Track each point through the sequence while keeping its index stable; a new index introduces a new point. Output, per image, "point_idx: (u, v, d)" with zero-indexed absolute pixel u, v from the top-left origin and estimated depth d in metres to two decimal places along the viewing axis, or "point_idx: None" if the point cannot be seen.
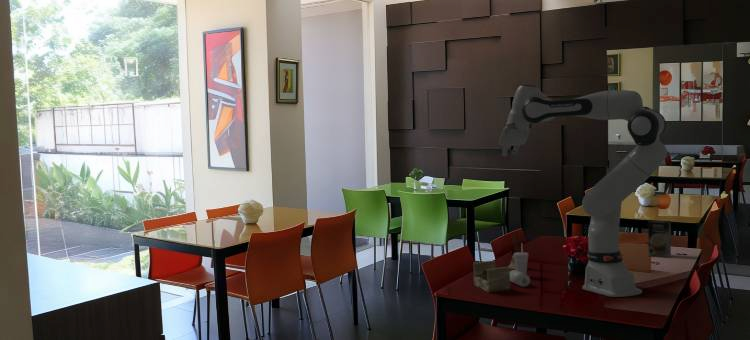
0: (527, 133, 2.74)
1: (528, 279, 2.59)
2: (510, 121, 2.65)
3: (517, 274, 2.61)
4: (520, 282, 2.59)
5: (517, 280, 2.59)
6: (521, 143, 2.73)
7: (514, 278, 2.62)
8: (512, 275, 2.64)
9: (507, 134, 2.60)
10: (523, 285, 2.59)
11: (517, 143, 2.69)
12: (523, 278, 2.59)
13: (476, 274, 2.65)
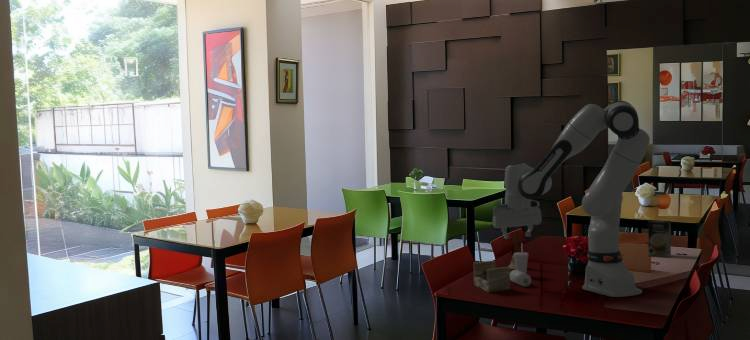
0: (537, 212, 2.62)
1: (529, 280, 2.60)
2: (505, 202, 2.62)
3: (519, 273, 2.62)
4: (521, 281, 2.59)
5: (518, 278, 2.59)
6: (531, 223, 2.61)
7: (516, 277, 2.62)
8: (514, 274, 2.64)
9: (495, 215, 2.58)
10: (523, 285, 2.59)
11: (521, 223, 2.60)
12: (525, 278, 2.59)
13: (476, 274, 2.65)
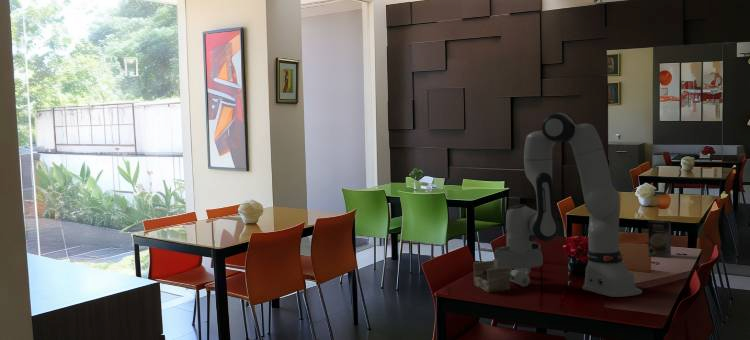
0: (538, 254, 2.63)
1: (528, 279, 2.59)
2: None
3: (517, 274, 2.61)
4: (520, 282, 2.58)
5: (517, 280, 2.59)
6: (532, 265, 2.63)
7: (514, 278, 2.62)
8: None
9: (497, 258, 2.59)
10: (523, 285, 2.59)
11: (522, 266, 2.62)
12: (523, 278, 2.59)
13: (476, 274, 2.65)
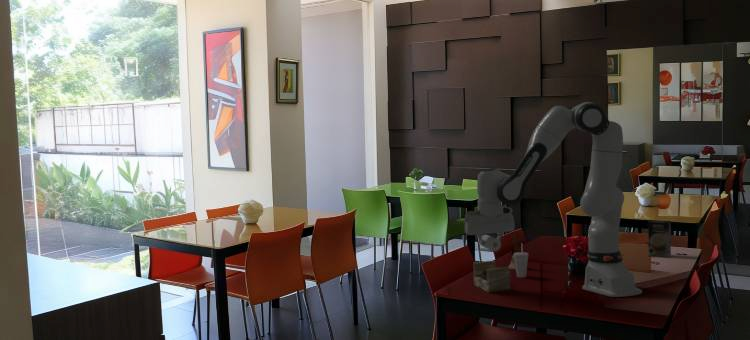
0: (510, 218, 2.58)
1: (499, 243, 2.55)
2: None
3: (488, 238, 2.57)
4: (491, 246, 2.54)
5: (488, 244, 2.55)
6: (504, 230, 2.58)
7: (485, 242, 2.58)
8: (483, 239, 2.60)
9: (467, 222, 2.55)
10: (494, 249, 2.55)
11: (494, 230, 2.57)
12: (494, 242, 2.54)
13: (476, 274, 2.65)
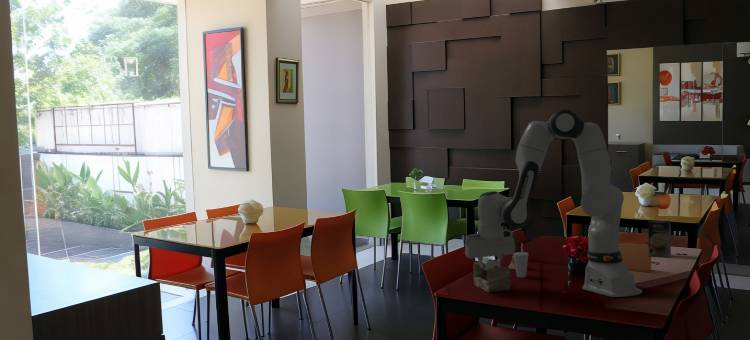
0: (510, 242, 2.59)
1: (499, 267, 2.56)
2: (478, 232, 2.60)
3: (488, 261, 2.58)
4: None
5: (488, 267, 2.56)
6: (504, 253, 2.59)
7: None
8: (483, 262, 2.60)
9: (468, 245, 2.56)
10: None
11: (494, 253, 2.58)
12: (494, 265, 2.55)
13: (476, 274, 2.65)
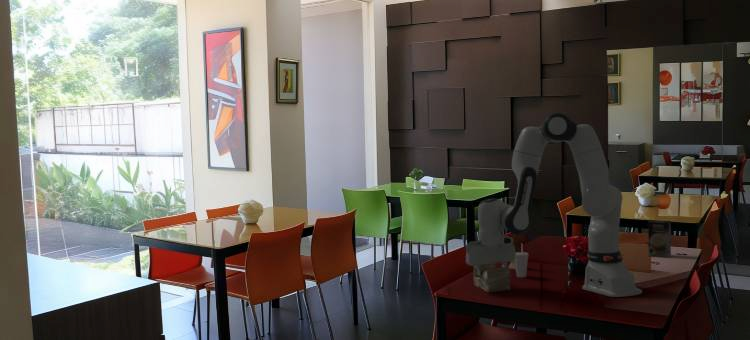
0: (511, 248, 2.59)
1: None
2: None
3: None
4: None
5: None
6: (505, 260, 2.59)
7: (486, 279, 2.58)
8: (484, 275, 2.61)
9: (468, 253, 2.56)
10: None
11: (495, 260, 2.58)
12: None
13: (476, 274, 2.65)
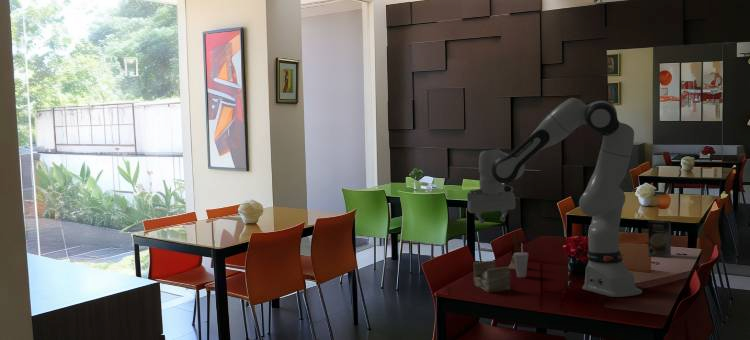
0: (511, 197, 2.66)
1: None
2: None
3: None
4: None
5: None
6: (505, 208, 2.66)
7: (486, 278, 2.58)
8: (485, 275, 2.61)
9: (470, 201, 2.62)
10: None
11: (495, 208, 2.64)
12: None
13: (476, 274, 2.65)
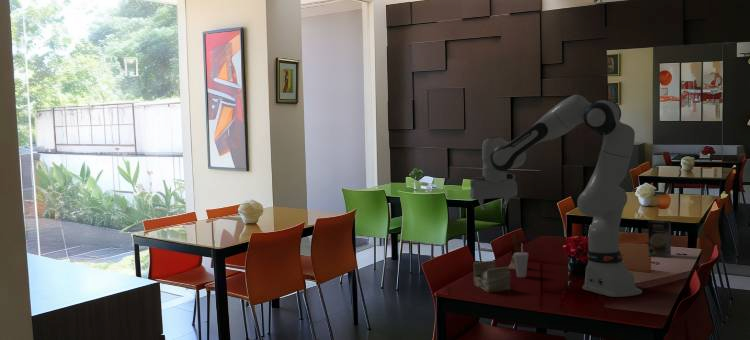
0: (513, 184, 2.73)
1: None
2: None
3: None
4: None
5: None
6: (507, 195, 2.73)
7: (486, 279, 2.58)
8: (484, 276, 2.61)
9: (473, 187, 2.70)
10: None
11: (498, 195, 2.72)
12: None
13: (476, 274, 2.65)
